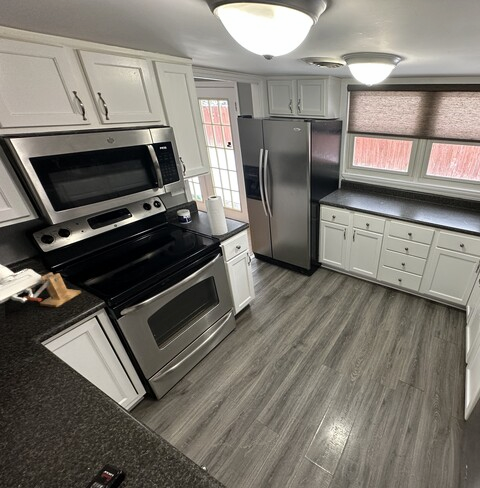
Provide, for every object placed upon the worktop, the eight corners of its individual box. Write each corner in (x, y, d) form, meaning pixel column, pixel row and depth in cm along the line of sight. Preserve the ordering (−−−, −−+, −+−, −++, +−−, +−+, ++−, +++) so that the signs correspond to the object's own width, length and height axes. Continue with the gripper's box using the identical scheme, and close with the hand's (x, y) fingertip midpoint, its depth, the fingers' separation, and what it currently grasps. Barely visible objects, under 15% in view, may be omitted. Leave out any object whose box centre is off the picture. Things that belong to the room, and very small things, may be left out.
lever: (40, 302, 119) (36, 300, 117) (25, 300, 120) (20, 298, 118) (63, 278, 127) (59, 275, 126) (48, 276, 128) (44, 273, 126)
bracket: (56, 307, 125) (44, 283, 119) (40, 305, 126) (27, 281, 120) (81, 292, 136) (71, 269, 130) (66, 290, 137) (55, 267, 131)
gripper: (26, 270, 127) (52, 289, 130) (-32, 295, 109) (-1, 317, 112) (30, 263, 125) (56, 283, 128) (-29, 288, 106) (3, 310, 109)
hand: (29, 299), depth 120 cm, fingers closed on lever
